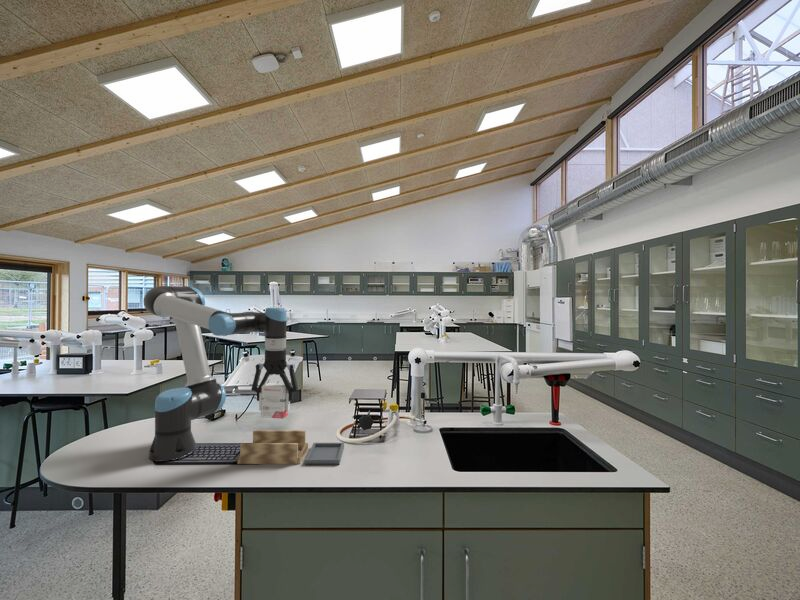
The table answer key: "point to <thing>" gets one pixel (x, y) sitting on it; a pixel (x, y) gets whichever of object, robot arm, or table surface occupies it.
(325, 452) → the tray
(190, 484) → the table surface
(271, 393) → the ink box
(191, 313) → the robot arm
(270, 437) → the rack
